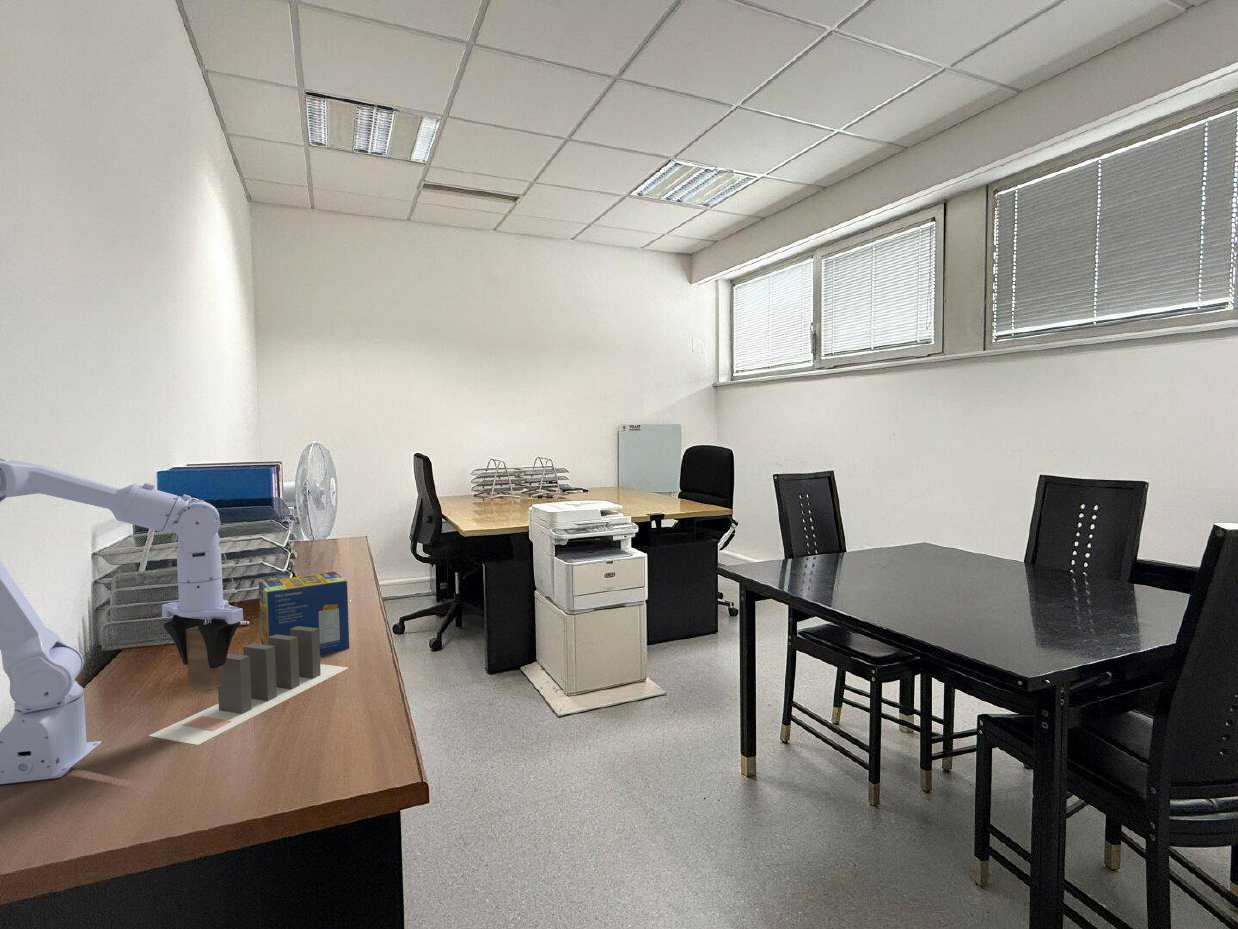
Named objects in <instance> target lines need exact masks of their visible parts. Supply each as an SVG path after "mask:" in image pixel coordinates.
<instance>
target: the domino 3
mask: <svg viewBox="0 0 1238 929" xmlns="http://www.w3.org/2000/svg"><path fill="white" fill-rule="evenodd" d="M242 647H243V648H242V649H243V655H245V656H250V678H251V699H256V700H263V701H270V700H272V699H274V698H276V697H277V689H276V665H275V646H270V645H262V644H261V643H253V642H252V643H250V644H247V645H244V646H242Z"/></svg>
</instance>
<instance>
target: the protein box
mask: <svg viewBox="0 0 1238 929" xmlns="http://www.w3.org/2000/svg"><path fill="white" fill-rule="evenodd" d="M348 593H349V592H348V580H346V579H345V578H343V577H342V576H341V575H339V574H338V573H337V571H329V572H322V573H313V574H309V575H308V574H307V575H301V576H294V577H293V576H292V577H287V578H280V579H274V580H265V581H260V582H259V581H258V594H259V616H260V642H261V643H260V644H262V645H268V637H270V636H273V635H276V634H277V635H286V636H290V629H291V628H294V627H297V626H301V627H311V628H319V645H320V656H321V655H325V654H330V653H331V654H332V653H335V652H340V651H345V650H349V649H350V630H349V629H350V628H349V627H350V626H349V597H348V596H349V595H348Z"/></svg>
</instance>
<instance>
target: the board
mask: <svg viewBox="0 0 1238 929" xmlns="http://www.w3.org/2000/svg"><path fill="white" fill-rule="evenodd" d="M347 669H349V667H348V666H340V665H332V664H331V665H330V664H323V663H322V664H321V663H320V672H321V675H320V676H318V677H316V678H314V679H311V678H303V677H299V681H300V686H298V687H296V688H294V689H292V690H291V689H284V688H277V687H276V689H277V697H276V698H274V699H272V700H270V701H263V700H256V699H251V701H252V710H250V711H248V712H246V713H244V714H238V713H232V712H226V711H220V710H219V702H218V703H217V704H214V705H212V706H210V707H207V708H206V709H204V710H201V711H199V712H196V713H195V714H192V715H191V716H189V717H188V716H187V717H186V718H184V719H182V720H179V721H177V722H175V723H173V724H171V725H168V726H167V727H164V728H161V729H160V730H157V731H155V732H154V733H151V734H149V735H148V737H153V738H157V739H163V740H168V741H174V742H180V743H184V744H188V745H189V744H190V745H195V746H200V745H201V744H203V743H205V742H207V741H208V740H211V739H213V738H215V737H218V735H220V734H222V733H225V732H227V731H229V730H231V729H233V728H234V727H237V726H238V725H240V724H242V723H244V722H246V721H248V720H250V719H252V718H254V717H256V716H258V715H259V714H262V713H263V712H265V711H267V710H269V709H272V708H273V707H276V706H277V705H280V704H281V703H283V702H285V701H287V700H290V699H291V698H293V697H295V696H297V695H299V694H301V693H302V692H305V691H306V690H309V689H310V688H312V687H315V686H316V685H319V684H321V683H322V682H324V681H326V680H329V679H330V678H333V677H335V675H338V674H340V673H341V672H344V671H346V670H347Z"/></svg>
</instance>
